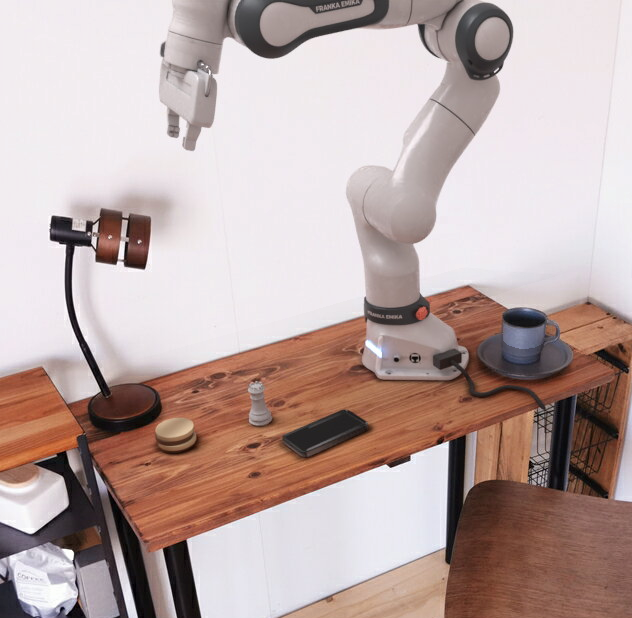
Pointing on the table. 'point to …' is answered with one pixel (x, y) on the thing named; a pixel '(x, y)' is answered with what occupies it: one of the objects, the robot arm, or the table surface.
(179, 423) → the chip pile
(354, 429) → the phone
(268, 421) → the rook chess piece
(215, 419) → the table surface
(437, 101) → the robot arm
